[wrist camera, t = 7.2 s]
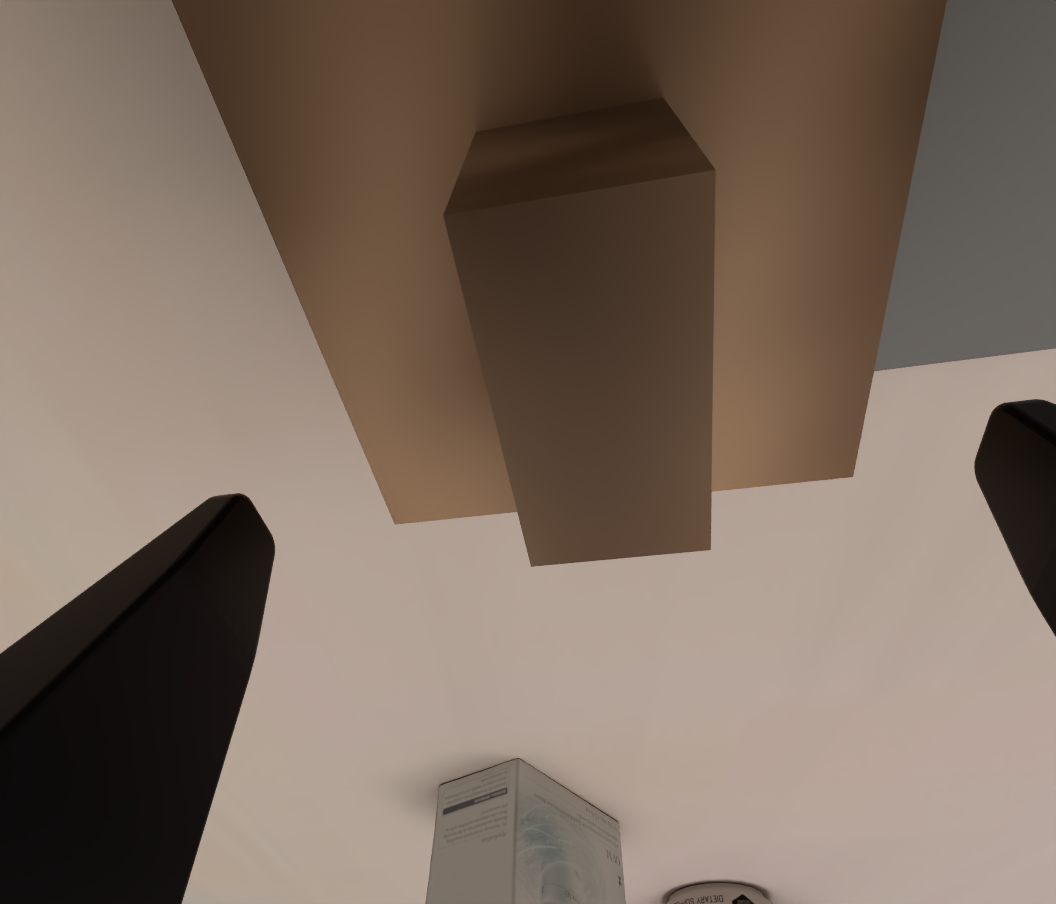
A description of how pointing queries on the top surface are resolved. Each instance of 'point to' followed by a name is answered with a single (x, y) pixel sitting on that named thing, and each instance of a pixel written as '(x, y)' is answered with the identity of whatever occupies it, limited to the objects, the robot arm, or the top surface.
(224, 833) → the top surface
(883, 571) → the top surface
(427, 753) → the top surface
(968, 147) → the rubber mat
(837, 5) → the walnut lid
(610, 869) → the skincare box
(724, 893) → the supplement can
